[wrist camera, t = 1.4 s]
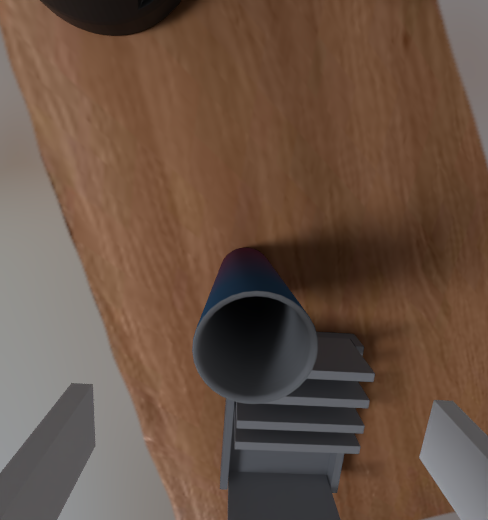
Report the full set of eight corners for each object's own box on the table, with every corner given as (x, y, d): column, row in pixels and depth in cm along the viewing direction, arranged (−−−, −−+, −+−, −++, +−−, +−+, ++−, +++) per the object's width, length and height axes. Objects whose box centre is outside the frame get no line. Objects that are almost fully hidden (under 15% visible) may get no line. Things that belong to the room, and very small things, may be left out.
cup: (290, 253, 31) (339, 317, 17) (263, 313, 33) (287, 419, 18) (226, 227, 31) (219, 271, 16) (201, 290, 32) (174, 382, 18)
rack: (231, 326, 33) (230, 366, 26) (353, 333, 34) (385, 374, 27) (220, 467, 38) (218, 533, 31) (329, 471, 38) (351, 536, 31)
